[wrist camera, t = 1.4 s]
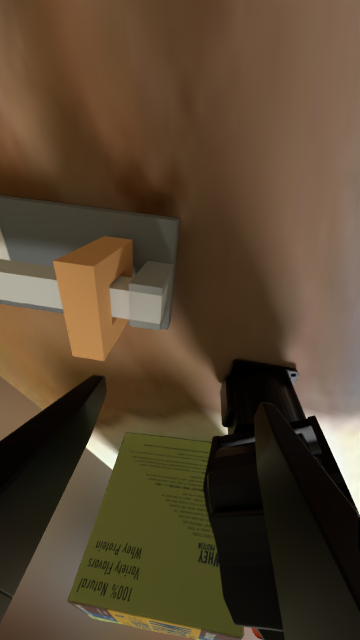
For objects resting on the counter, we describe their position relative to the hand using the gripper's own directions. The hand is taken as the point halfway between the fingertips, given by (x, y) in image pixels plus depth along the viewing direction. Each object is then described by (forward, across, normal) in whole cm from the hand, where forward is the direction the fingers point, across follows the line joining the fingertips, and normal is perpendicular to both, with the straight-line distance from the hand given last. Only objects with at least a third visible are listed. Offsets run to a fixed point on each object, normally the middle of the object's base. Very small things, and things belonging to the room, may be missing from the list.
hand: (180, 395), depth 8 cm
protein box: (+12, -1, +29) cm, 32 cm away
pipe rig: (+12, +12, 0) cm, 17 cm away
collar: (+10, +6, 0) cm, 12 cm away
